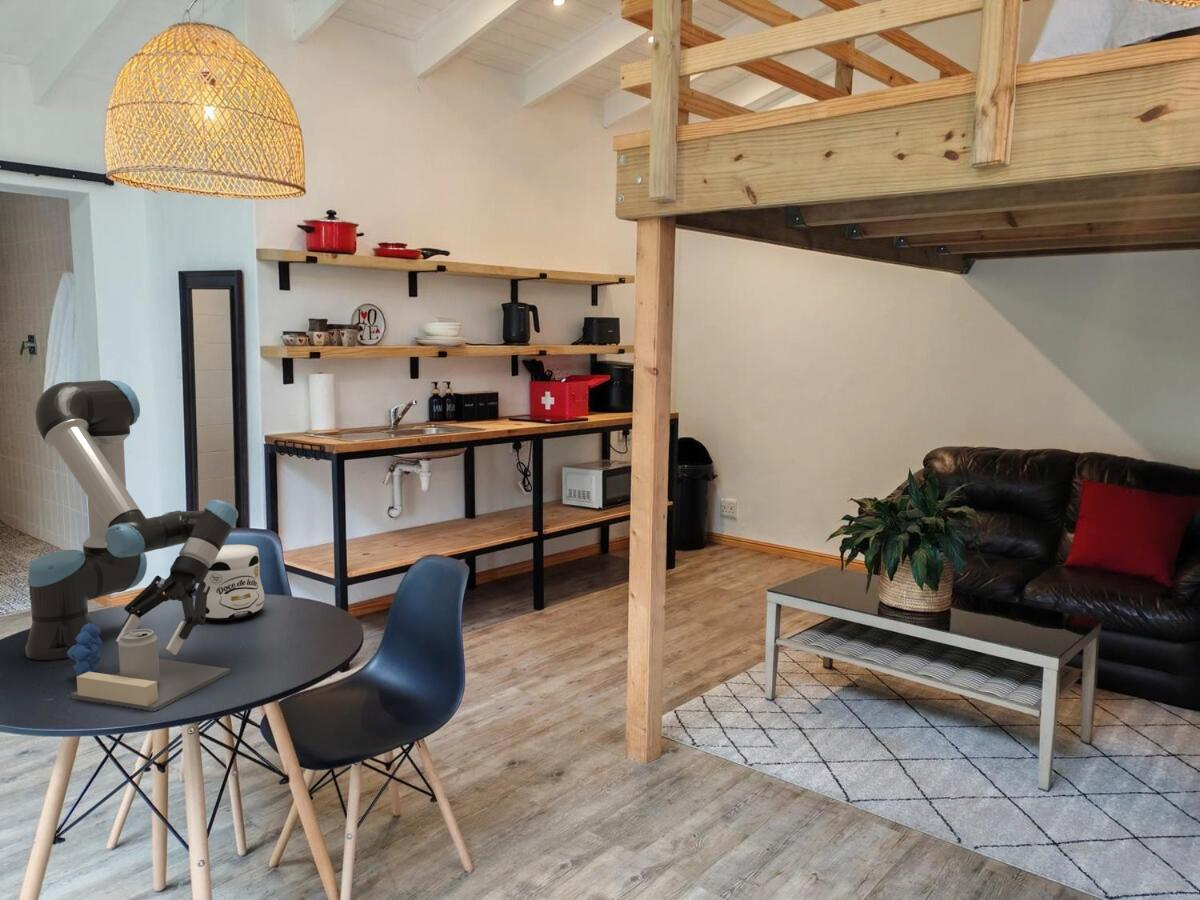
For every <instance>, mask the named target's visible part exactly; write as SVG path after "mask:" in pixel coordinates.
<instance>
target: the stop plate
mask: <svg viewBox="0 0 1200 900" xmlns="http://www.w3.org/2000/svg"><path fill="white" fill-rule="evenodd" d="M159 673H160V681H159V682H158V683H157V682H156V681H149V680H142V679H136V678H129V677H122V676H120V671H119V672H117V673H114V674H109V673H102V672H101V673H99V672H96V673H95V672H86V673H84V674H82V675H79V676H78V675H76V687H77V690H76V691H74V692H72V693H70V699H72V700H80V701H84V702H85V701H86V702H91V703H98V704H103V703H106V704H105V705H109V704H113V705H112V706H115V705H120V706H119V707H122V706H126V707H125V708H128V707H133V708H132V709H134V708H139V709H138V710H140V709H145V710H144V711H146V710H152V711H151V712H153V711H156V710H158V709H160V708H162V707H163V708H165V707H167V706H169V705H171V704H173V703H175V702H176V701H175V700H177V701H178V699H179V698H181V697H183V698H185V697H186V696H185V695H187V696H189V695H190V693H191V694H192V692H193V693H194V692H196V691H198V690H200V689H202V688H204V687H206V686H208V685H210V684H212V683H214V682H216V681H217V679H218V680H220V679H222V678H223V676H224V677H225V676H228V675H230V674H231V668H227V667H220V666H219V667H218V666H212V665H206V664H198V663H193V662H192V663H191V662H184V661H178V660H169V659H164V658H163V659H162V658H159ZM221 677H222V678H221ZM219 678H220V679H219ZM188 694H189V695H188ZM184 696H185V697H184ZM181 699H182V698H181ZM179 700H180V699H179ZM174 701H175V702H174ZM172 702H173V703H172ZM170 703H171V704H170ZM168 704H169V705H168ZM166 705H167V706H166ZM164 706H165V707H164ZM163 708H162V709H163ZM160 710H161V709H160ZM158 711H159V710H158ZM156 712H157V711H156Z"/></svg>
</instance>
